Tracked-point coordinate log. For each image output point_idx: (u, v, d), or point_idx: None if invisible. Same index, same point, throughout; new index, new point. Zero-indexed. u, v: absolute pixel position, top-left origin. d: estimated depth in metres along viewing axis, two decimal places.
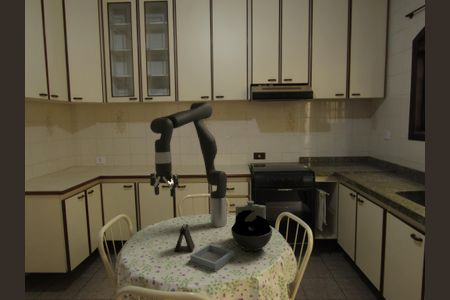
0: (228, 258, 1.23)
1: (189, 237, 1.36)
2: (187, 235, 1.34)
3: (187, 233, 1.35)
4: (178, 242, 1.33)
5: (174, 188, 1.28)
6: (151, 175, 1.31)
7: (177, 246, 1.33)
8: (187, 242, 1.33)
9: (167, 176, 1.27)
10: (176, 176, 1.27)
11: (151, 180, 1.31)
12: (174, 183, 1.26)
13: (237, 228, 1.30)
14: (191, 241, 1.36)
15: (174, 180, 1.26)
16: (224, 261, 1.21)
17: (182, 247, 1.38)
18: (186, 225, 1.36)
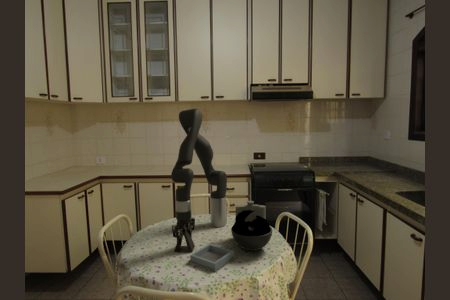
0: (228, 258, 1.23)
1: (189, 237, 1.36)
2: (187, 235, 1.34)
3: (187, 233, 1.35)
4: None
5: None
6: (176, 227, 1.29)
7: (177, 246, 1.33)
8: (187, 242, 1.33)
9: (189, 221, 1.37)
10: None
11: (177, 232, 1.30)
12: (193, 226, 1.39)
13: (237, 228, 1.30)
14: (191, 241, 1.36)
15: (194, 223, 1.40)
16: (224, 261, 1.21)
17: (181, 247, 1.38)
18: None
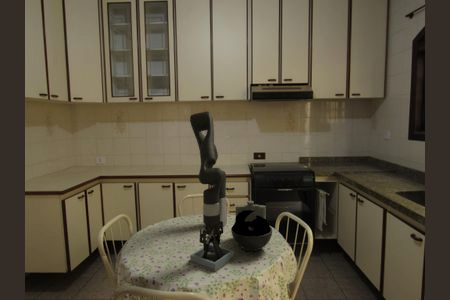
0: (228, 258, 1.23)
1: (217, 245, 1.25)
2: (215, 243, 1.23)
3: (215, 240, 1.24)
4: None
5: None
6: (205, 232, 1.18)
7: (205, 255, 1.22)
8: (216, 250, 1.22)
9: (217, 225, 1.25)
10: None
11: (204, 237, 1.18)
12: (222, 229, 1.28)
13: (237, 228, 1.30)
14: (219, 249, 1.25)
15: (222, 226, 1.28)
16: (224, 261, 1.21)
17: (208, 255, 1.27)
18: None
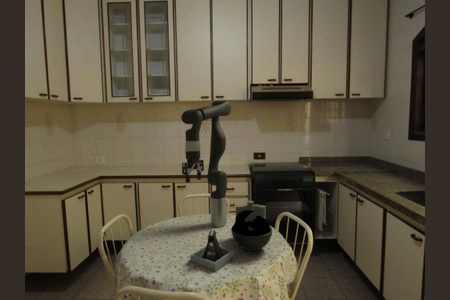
0: (228, 258, 1.23)
1: (217, 245, 1.25)
2: (215, 243, 1.23)
3: (215, 240, 1.24)
4: (206, 250, 1.22)
5: None
6: (186, 164, 1.36)
7: (205, 255, 1.22)
8: (216, 250, 1.22)
9: (198, 162, 1.43)
10: None
11: (186, 169, 1.36)
12: (203, 167, 1.46)
13: (237, 228, 1.30)
14: (219, 249, 1.25)
15: (203, 164, 1.46)
16: (224, 261, 1.21)
17: (208, 255, 1.27)
18: (214, 232, 1.25)
